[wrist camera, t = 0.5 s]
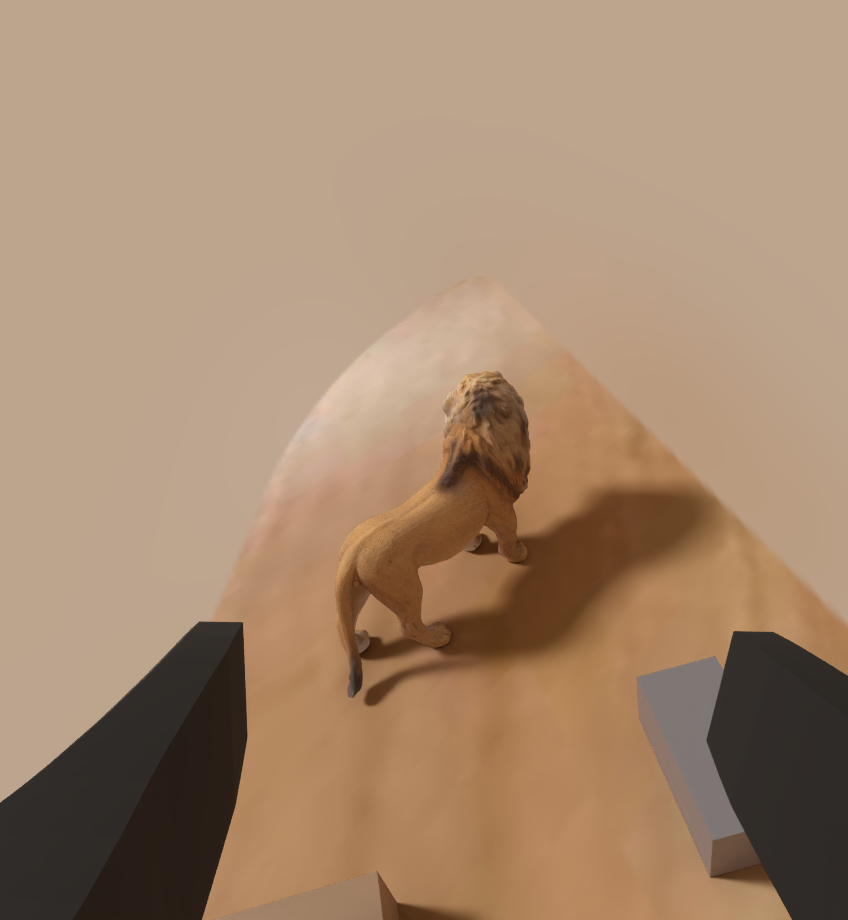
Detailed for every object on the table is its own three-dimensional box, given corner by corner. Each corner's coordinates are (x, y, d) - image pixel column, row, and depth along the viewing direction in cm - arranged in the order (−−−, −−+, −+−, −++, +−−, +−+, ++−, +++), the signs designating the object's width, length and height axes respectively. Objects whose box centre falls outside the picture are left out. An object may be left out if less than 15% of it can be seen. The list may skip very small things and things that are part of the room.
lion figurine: (484, 482, 42) (454, 348, 36) (568, 508, 39) (549, 365, 33) (314, 681, 34) (241, 548, 28) (402, 734, 31) (341, 596, 25)
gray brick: (797, 856, 24) (807, 814, 22) (709, 879, 24) (712, 840, 22) (712, 700, 29) (714, 656, 27) (639, 720, 29) (636, 677, 27)
